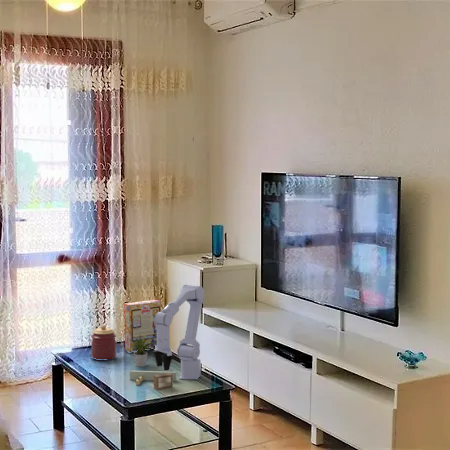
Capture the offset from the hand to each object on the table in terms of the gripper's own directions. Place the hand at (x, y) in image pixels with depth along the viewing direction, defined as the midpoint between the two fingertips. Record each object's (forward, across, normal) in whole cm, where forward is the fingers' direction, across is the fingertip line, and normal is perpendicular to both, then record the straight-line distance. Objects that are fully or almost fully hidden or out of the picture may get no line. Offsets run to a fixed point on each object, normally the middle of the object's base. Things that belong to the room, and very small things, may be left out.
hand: (163, 368), depth 328 cm
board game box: (+9, -70, +20) cm, 73 cm away
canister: (+9, -64, -5) cm, 65 cm away
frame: (+9, 0, 0) cm, 9 cm away
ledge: (+9, -10, -1) cm, 14 cm away
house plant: (+9, -40, +5) cm, 42 cm away
